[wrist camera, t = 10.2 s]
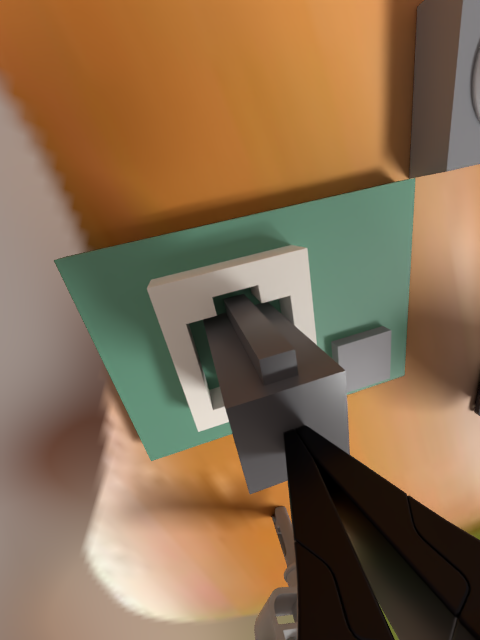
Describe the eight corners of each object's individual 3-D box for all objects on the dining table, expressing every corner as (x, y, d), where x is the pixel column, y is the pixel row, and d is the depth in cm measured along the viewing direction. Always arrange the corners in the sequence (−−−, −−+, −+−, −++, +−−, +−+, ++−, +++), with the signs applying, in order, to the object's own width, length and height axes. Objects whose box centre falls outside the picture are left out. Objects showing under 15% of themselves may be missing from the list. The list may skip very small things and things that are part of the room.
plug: (264, 285, 15) (344, 343, 8) (276, 357, 17) (349, 457, 10) (198, 303, 15) (217, 382, 7) (218, 375, 17) (249, 494, 9)
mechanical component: (236, 498, 23) (274, 677, 14) (327, 503, 26) (406, 651, 17) (225, 521, 24) (253, 705, 15) (315, 523, 27) (384, 675, 18)
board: (395, 181, 16) (448, 171, 13) (390, 365, 22) (426, 390, 19) (66, 256, 14) (32, 266, 11) (153, 444, 19) (148, 488, 16)
